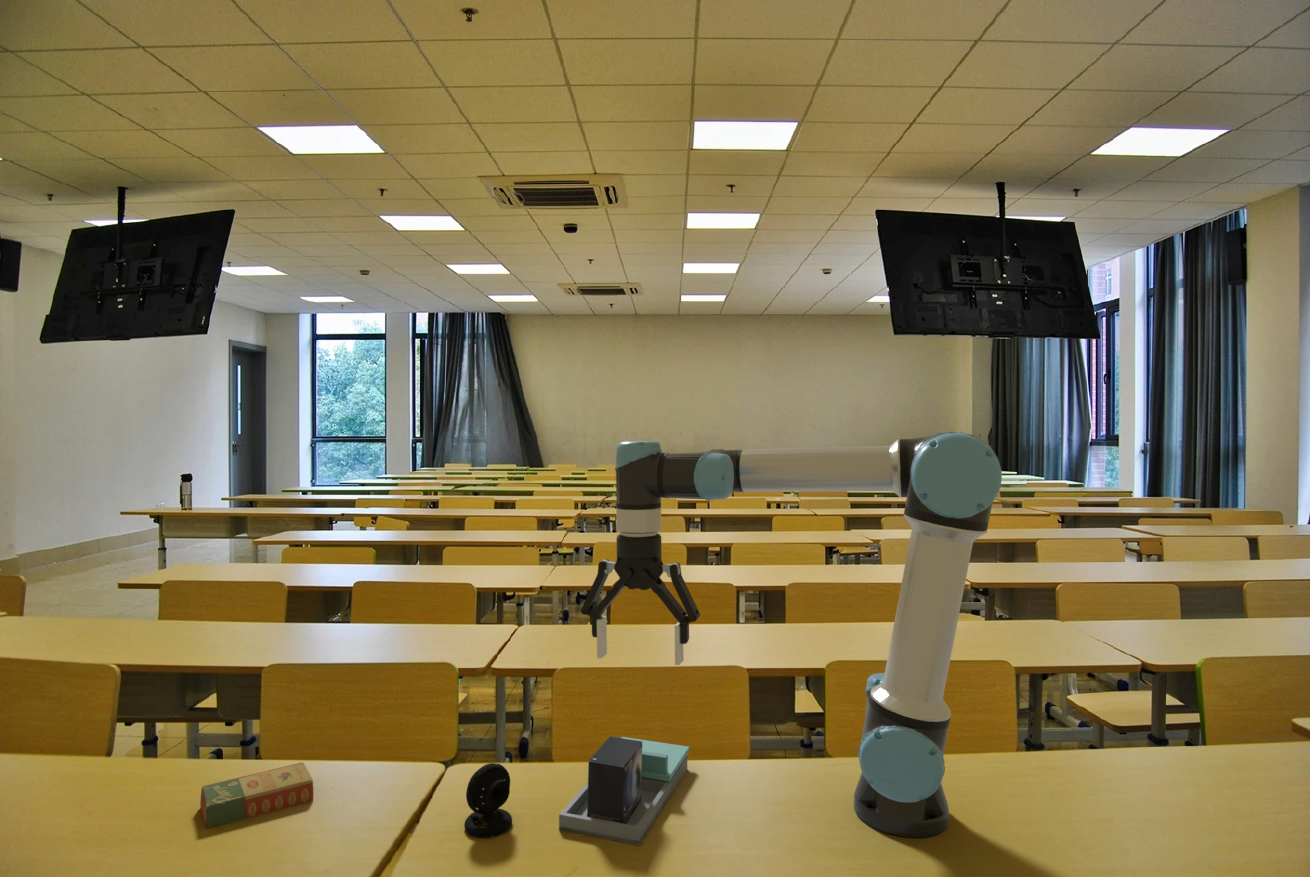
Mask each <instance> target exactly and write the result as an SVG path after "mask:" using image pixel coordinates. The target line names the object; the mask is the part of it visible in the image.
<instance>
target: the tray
mask: <svg viewBox="0 0 1310 877" xmlns="http://www.w3.org/2000/svg"><path fill="white" fill-rule="evenodd" d="M687 771H688V755H687V756H686V757H685V759H684V760H683V762H682V764H681V765H680V767H679V768H678V770H677V771H676V773H675V774H674V776H673V777H672V779H671V780H670V782H669V781H662V780H656V779H650V778H644V777H642V782H641V801H640V803H639V804H638V806H637V807H636V809H635V811H634V812H633V814H632V815H631V817H630V818H629V820H628V821H627V823H626V824H623V823H618V822H612V821H607V820H602V819H596V818H591V817H587V807H588V781H587V782H586V784H584V786H583V787H582V788H581V789H580V790H579V791H578V792H577V794H576V795H575V796H574V797H572V799H571V800H570V801H569V803H568V804H567V805H566V806H565V807H564V808H563V810H562V811H560V813H559V815H558V830H559V831H562V832H568V833H572V834H579V835H583V836H584V835H585V836H589V837H593V838H600V839H604V840H609V841H615V842H620V843H625V844H631V845H634V846H635V845H636V846H640V845H641V844H642V842H643V841H644V839H645V838H646V835H648V832H649V831H650V830H651V828H652V827H653V825H654V823H655V822H656V820H657V818H658V817H659V815H660V814H661V812H662V811H663V809H664V807H665V805H667V802H668V801H669V799H670V798H671V796H672V794H673V793H674V792H675V789H676V788H677V786H678V785H679V783H680V782H681V780H682V779H683V777H684V775H685V773H687Z"/></svg>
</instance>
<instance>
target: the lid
mask: <svg viewBox="0 0 1310 877" xmlns="http://www.w3.org/2000/svg"><path fill="white" fill-rule="evenodd" d="M620 738H624V739H630V740H637V741H642V777H644V778H650V779H656V780H662V781H669V782H670V780H671V779H672V777H673V776H674V774H675V773H676V771H677V770H678V768H679V767H680V765H681V764H682V762H683V760H684V759H685V757H686V756H687V757H688V754H689V753H690V746H686V745H680V744H672V743H666V742H659V741H654V740H653V741H652V740H647V739H645V740H644V739H641V738H640V739H639V738H632V737H626V736H625V737H624V736H621V737H620Z"/></svg>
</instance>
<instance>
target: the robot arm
mask: <svg viewBox="0 0 1310 877" xmlns="http://www.w3.org/2000/svg"><path fill="white" fill-rule="evenodd" d="M991 447H992V446H990V445H989V444H988V443H986V442H985V441H984V440H982V439H981V438H980V437H977V436H976V435H974V434H971V433H966V432H963V431H946V432H940V433H937V434H934V435H933V434H932V435H929V436H924V437H916V438H902V439H901V438H898V439H896V440H895V441H894V442H893V443H892V444H890V445H868V446H867V445H866V446H865V445H864V446H857V445H856V446H829V447H828V446H827V447H826V446H825V447H824V446H823V447H794V448H793V447H792V448H791V447H788V448H785V447H784V448H761V449H759V448H758V449H756V448H755V449H753V448H752V449H723V448H722V449H721V448H720V449H711V450H709V451H702V452H701V451H700V452H683V453H680V452H679V453H677V452H674V453H672V452H671V453H670V452H663V451H662V448H661V443H660V442H659V441H657V440H653V441H651V440H632V441H628V440H626V441H621V442H620V443H619V444H617V446H616V454H615V455H616V456H615V467H614V471H615V488H616V489H615V492H616V493H615V494H616V495H615V496H616V506H615V507H616V509H615V510H616V516H615V518H616V521H615V522H616V527H615V528H616V530H615V531H617V532H618V533H619V534H617V535H616V561H611V560H610V559H608V558H605V559H602V560H601V561H599V562H598V567H597V575H596V577H595V578H594V581H593V583H592V585H591V587H590V590H589V592H588V594H587V596H586V598H585V600H584V602H583V604H582V607H581V609H580V613H581V614H582V615H586V616H588V617H590V619H591V635H592V637H593V638H596V659H600V660H601V659H603V658H604V657H606V655H607V654H608V644H607V643H608V639H607V637H608V633H607V632H608V629H607V627H608V626H607V624H608V622H607V616H606V615H605V616H604V615H603V614H604V612H605V611H606V610H607V609H608V608H609V606H610V605H611V604H612V603H613V601H614V600H615V599H616V598H617V597H618V595H619V594H620V593H621V592H622V590H624V588H625V587H626V588H628V589H629V590H637V589H638V590H641V591H648V590H650V589H651V591H652V592H653V593H654V594H656V595H657V597H658V598H659V599H660V600H661V601H662V603H663V604H664V605H665V607H666V608H667V610H668V611H669V612H670V613H671V614H672V616H673V617H674V618H675V620H677V623H676V624H674V665H675V666H680V665H681V664H682V663H683V662H684V660H685V659H684V645H687V644H688V643H689V640H690V623H694V622H696V621H697V620H698V619H699V618H700V617H701V613H700V611H699V608H698V607H697V604H696V602H695V600H694V599H693V596H692V595H691V592H690V590H689V587H688V585H687V583H686V582H685V580H684V578H683V575H682V567H681V563H679V562H677V561H676V562H673V563H668V564H667V563H666V564H664V563H663V561H662V555H663V554H662V535H661V534H660V533H658V532H661V530H662V502H661V501H662V499H682V500H683V499H684V500H685V499H686V500H687V499H688V500H705V501H709V502H710V501H714V500H726V499H728V498H729V497H730V496H731V494H732V493H753V492H755V493H759V492H761V493H762V492H763V493H764V492H766V493H769V492H771V493H772V492H773V493H774V492H775V493H778V492H781V493H783V492H785V493H786V492H787V493H789V492H793V493H796V492H802V493H803V492H813V493H814V492H892V493H894V494H895V495H896V496H898V497H899V498H906V500H905V505H904V509H903V510H904V511H903V517H904V518H905V520H906V522H907V523H908V524H909V525H910V529H911V532H910V537H909V542H908V548H907V552H906V559H905V564H904V568H903V569H904V570H903V574H902V579H901V586H900V589H899V590H900V591H899V596H898V600H897V601H898V602H897V606H896V612H895V618H894V623H893V628H892V632H891V638H890V645H889V649H888V655H887V659H886V664H885V670H884V672H878V673H877V672H876V673H874V674H871V675H870V676H869V677H868V678H867V680H866V688H865V690H864V692H865V693H866V697H865V700H866V701H865V702H866V703H865V705H866V706H865V715H864V722H863V729H862V734H861V741H860V744H859V746H858V749H857V750H858V751H857V756H858V758H859V759H858V762H859V767H860V770H861V773H860V775H859V776H860V777H859V779H858V782H857V785H856V788H855V790H854V794H853V810H854V812H855V814H856V815H857V817H858V818H859V819H860V820H862V821H863V822H864V824H867V825H868V826H870V827H872V828H874V829H876V830H878V831H881V832H883V833H887V834H891V835H894V836H900V837H906V838H927V837H932V836H936V835H939V834H940V833H942V832H944V831H946V829H947V828H948V827H949V823H950V821H949V818H950V814H949V813H950V809H949V804H948V800H947V797H946V793H945V791H944V787H943V785H942V781H943V778H944V775H945V772H946V766H945V764H946V763H945V759H944V755H945V749H946V748H945V747H946V744H947V739H948V737H947V736H948V732H949V727H950V721H951V717H952V711H951V709H950V707H949V706H948V705H947V703H946V702H945V700H944V693H945V687H946V685H947V684H946V683H947V678H948V674H949V668H950V664H951V663H950V662H951V657H952V652H953V648H954V642H955V638H956V633H957V628H958V627H957V626H958V623H959V617H960V613H961V612H960V611H961V608H962V600H963V596H964V592H965V591H964V590H965V586H966V580H967V575H968V571H969V565H970V559H971V555H972V549H973V545H974V542H975V541H976V540H978V539H979V538H981V537H982V536H984V535H985V534H987V533H988V527H989V522H990V517H991V513H992V508H993V503H994V501H995V499H996V498H997V497H998V493H999V492H1000V489H1001V485H1002V479H1003V477H1002V476H1003V475H1002V474H1003V473H1002V467H1001V464H1000V461H999V458H998V456H997V455H996V454H997V453H995V451H994V449H992V448H991ZM613 570H614V572H615V573H616V574H617V576H618V577H619V578H618V580H617V581H616V582H615V583H614V585H613V587H611V589H610V590H609V591H608V593H607V594H606V595H605V596H604V597H603V598H602V599H601V601H600V602H599V603H598V605H597V606H596V607H595V605H596V602H597V601H598V599H599V596H600V593H601V592H602V590H603V588H604V586H605V583H606V581H607V579H608V577H609V575H610V574H611V573H612V572H613ZM663 573H666V576H667V577H668V578H670V580H671V583H672V585H673V587H674V589H675V592H676V594H677V595H678V598H679V599H680V601H681V602H680V603H679V601H678V600H677V599H676V598H675V597H674V595H673V594H672V592H671V591H670V590H669V589H668V587H667V586H666V584H665V582H664V581H663V579H662V578H661V576H662V575H663ZM681 603H682V605H681ZM682 606H683V607H682ZM602 615H603V616H602Z"/></svg>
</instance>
